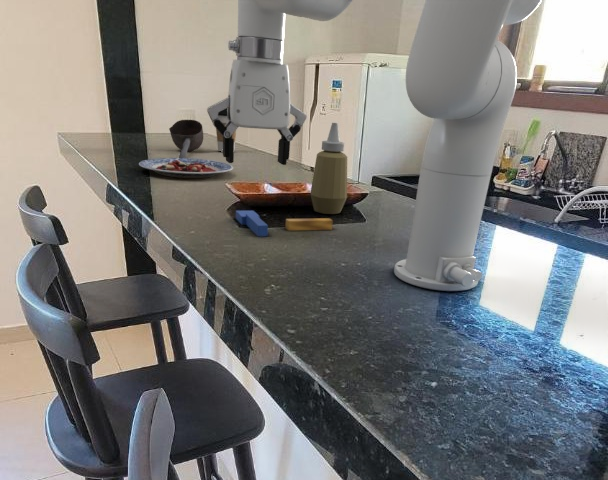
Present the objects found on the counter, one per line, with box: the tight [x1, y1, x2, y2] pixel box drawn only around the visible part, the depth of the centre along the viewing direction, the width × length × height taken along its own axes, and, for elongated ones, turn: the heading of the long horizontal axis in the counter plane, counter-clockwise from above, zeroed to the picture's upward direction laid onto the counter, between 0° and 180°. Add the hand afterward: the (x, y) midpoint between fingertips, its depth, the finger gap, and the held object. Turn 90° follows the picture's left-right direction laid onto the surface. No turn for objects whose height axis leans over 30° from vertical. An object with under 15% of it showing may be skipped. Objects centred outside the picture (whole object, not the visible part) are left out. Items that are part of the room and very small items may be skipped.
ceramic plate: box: [138, 157, 234, 179], centre depth 149 cm, size 26×26×3 cm
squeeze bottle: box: [309, 122, 348, 215], centre depth 113 cm, size 8×8×18 cm
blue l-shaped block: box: [235, 210, 269, 237], centre depth 100 cm, size 14×4×2 cm, turn 20°
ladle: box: [168, 119, 204, 158], centre depth 180 cm, size 12×38×10 cm, turn 8°
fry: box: [284, 217, 334, 232], centre depth 102 cm, size 9×2×2 cm, turn 110°
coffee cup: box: [215, 108, 237, 153], centre depth 194 cm, size 8×8×15 cm
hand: (256, 162), depth 94 cm, fingers open, 9 cm apart
